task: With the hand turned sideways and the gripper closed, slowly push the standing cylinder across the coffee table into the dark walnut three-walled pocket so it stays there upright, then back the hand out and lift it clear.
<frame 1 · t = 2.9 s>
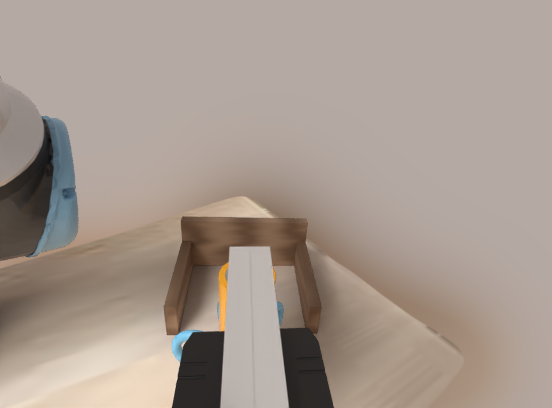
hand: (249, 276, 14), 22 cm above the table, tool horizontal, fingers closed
cylinder: (242, 406, 32), on the table
pocket: (243, 301, 44), on the table
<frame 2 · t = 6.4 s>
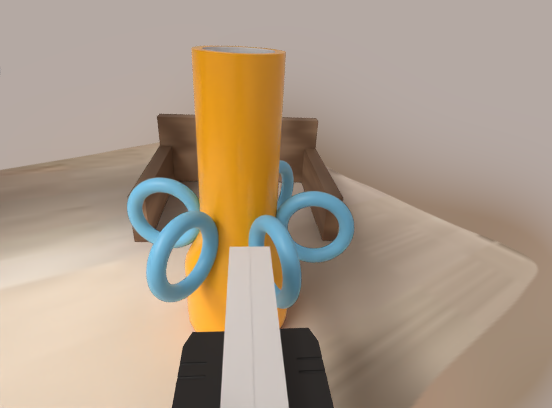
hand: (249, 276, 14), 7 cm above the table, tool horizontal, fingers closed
cylinder: (237, 314, 22), on the table, touching gripper
pocket: (238, 211, 34), on the table
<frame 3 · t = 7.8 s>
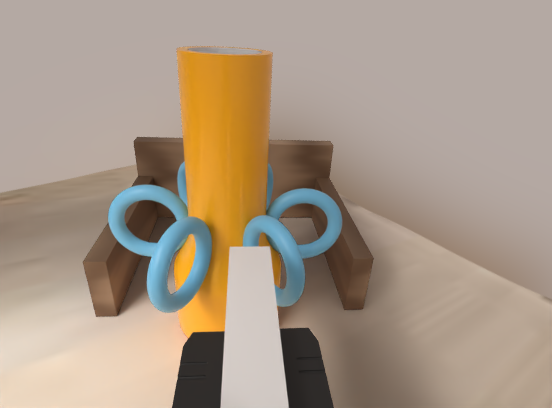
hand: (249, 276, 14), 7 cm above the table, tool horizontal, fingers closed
cylinder: (228, 317, 22), on the table, touching gripper
pocket: (235, 263, 27), on the table
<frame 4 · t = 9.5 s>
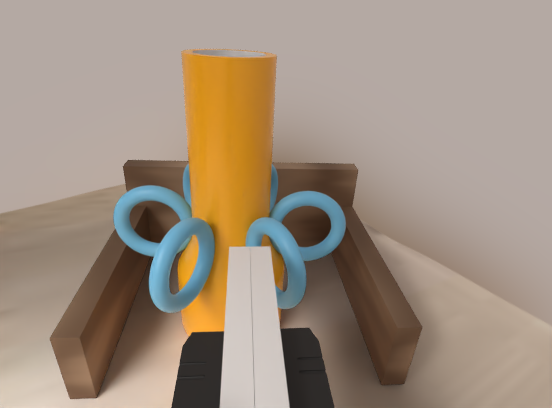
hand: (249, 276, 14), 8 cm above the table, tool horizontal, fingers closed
cylinder: (231, 318, 22), on the table, touching gripper
pocket: (244, 316, 22), on the table
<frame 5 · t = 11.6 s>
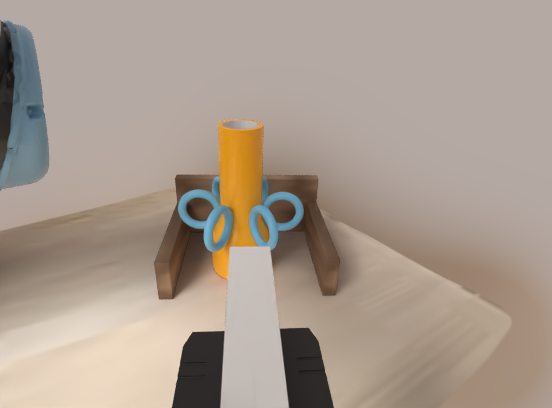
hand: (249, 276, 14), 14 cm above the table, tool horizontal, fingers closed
cylinder: (241, 267, 38), on the table
pocket: (248, 265, 38), on the table
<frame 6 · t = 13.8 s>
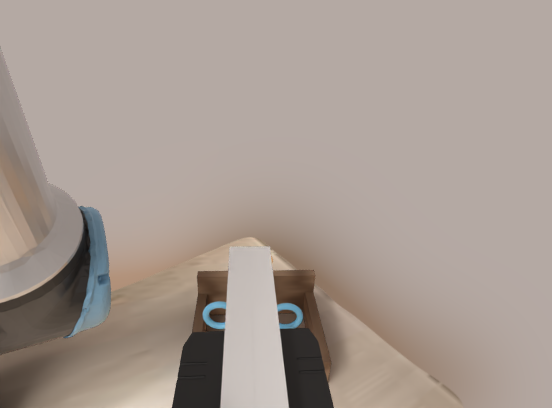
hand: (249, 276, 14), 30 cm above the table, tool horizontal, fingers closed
cylinder: (251, 354, 47), on the table
pocket: (257, 353, 47), on the table
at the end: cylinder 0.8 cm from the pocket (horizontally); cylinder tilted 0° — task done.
